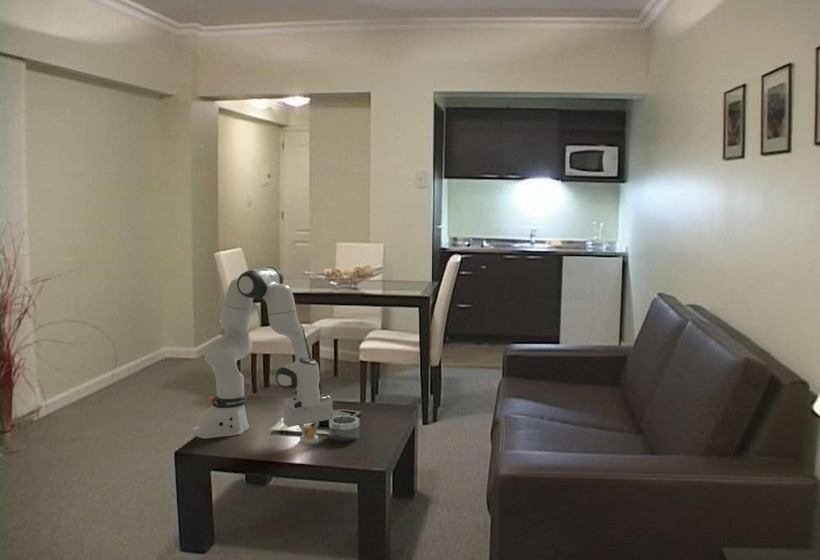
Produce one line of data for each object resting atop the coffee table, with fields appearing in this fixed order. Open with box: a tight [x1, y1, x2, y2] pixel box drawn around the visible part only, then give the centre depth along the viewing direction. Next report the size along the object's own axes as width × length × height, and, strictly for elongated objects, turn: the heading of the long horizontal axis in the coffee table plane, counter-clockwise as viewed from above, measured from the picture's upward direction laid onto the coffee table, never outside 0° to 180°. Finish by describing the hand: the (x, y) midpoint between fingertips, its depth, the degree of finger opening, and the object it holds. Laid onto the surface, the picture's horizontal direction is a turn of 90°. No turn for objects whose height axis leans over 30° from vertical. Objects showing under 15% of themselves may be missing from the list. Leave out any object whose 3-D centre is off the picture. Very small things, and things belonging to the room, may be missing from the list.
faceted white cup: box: [328, 415, 360, 443], centre depth 302 cm, size 12×12×7 cm
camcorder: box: [312, 408, 363, 426], centre depth 320 cm, size 16×20×5 cm
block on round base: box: [299, 424, 319, 445], centre depth 297 cm, size 7×7×6 cm
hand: (309, 433), depth 297 cm, fingers open, 3 cm apart
